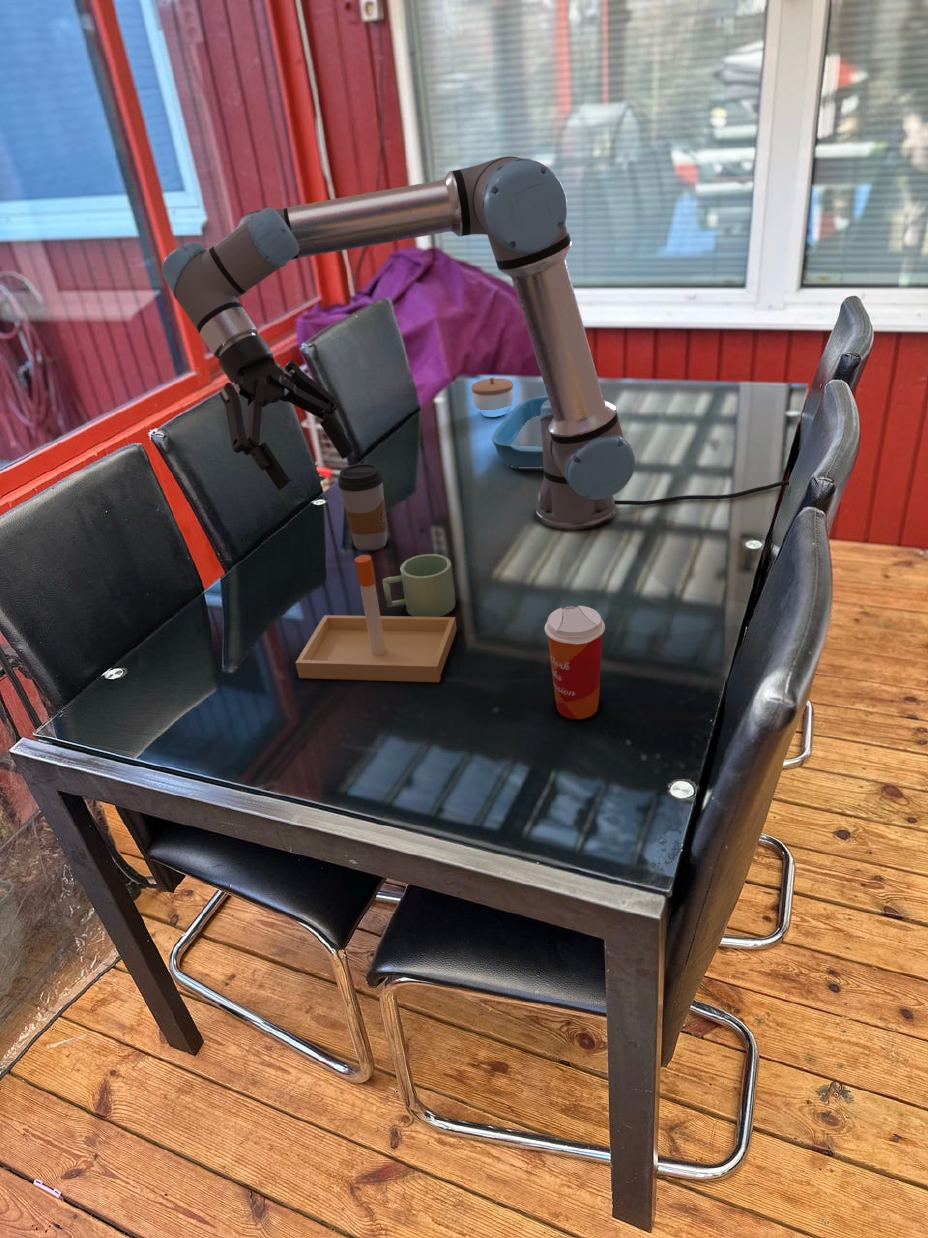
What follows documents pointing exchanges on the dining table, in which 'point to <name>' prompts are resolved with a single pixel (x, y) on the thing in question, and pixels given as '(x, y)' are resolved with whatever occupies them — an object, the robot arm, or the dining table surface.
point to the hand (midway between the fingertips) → (317, 469)
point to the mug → (424, 586)
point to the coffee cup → (364, 505)
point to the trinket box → (492, 393)
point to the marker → (370, 603)
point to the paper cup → (575, 659)
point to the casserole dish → (509, 432)
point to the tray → (348, 655)
